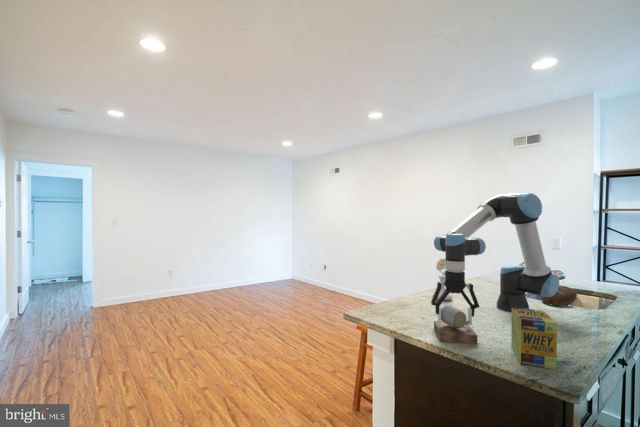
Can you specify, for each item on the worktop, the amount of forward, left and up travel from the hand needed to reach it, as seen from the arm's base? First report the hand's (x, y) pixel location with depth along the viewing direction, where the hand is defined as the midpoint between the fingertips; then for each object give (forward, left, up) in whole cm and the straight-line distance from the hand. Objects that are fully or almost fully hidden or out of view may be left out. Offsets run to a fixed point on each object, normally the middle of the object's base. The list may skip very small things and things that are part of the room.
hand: (454, 322), depth 132 cm
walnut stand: (0, 0, -5) cm, 5 cm away
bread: (-75, -73, -6) cm, 105 cm away
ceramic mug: (0, -1, -1) cm, 2 cm away
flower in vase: (-6, -59, -6) cm, 59 cm away
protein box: (-23, +15, -6) cm, 28 cm away
